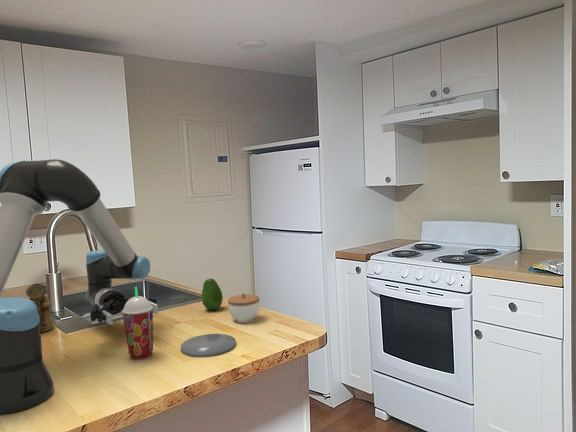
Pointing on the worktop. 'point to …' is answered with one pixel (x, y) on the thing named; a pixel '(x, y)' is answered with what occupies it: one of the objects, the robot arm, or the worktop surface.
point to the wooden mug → (41, 306)
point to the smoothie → (138, 326)
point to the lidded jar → (244, 307)
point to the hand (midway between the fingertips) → (134, 314)
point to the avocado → (211, 295)
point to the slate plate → (208, 345)
